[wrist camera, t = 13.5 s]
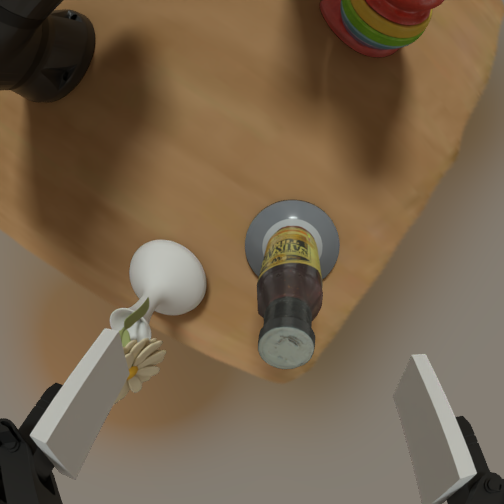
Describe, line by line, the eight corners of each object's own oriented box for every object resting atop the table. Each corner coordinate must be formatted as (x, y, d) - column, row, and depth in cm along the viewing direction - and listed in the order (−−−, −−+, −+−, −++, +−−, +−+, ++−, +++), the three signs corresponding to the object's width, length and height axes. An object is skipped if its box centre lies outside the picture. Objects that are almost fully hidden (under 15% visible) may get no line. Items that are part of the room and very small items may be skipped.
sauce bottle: (304, 215, 37) (322, 294, 19) (323, 258, 39) (349, 362, 21) (256, 235, 39) (229, 327, 21) (276, 277, 41) (267, 387, 22)
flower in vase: (174, 320, 46) (105, 451, 23) (121, 268, 44) (15, 375, 21) (234, 272, 42) (182, 421, 19) (175, 210, 40) (56, 310, 17)
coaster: (244, 283, 43) (243, 286, 42) (247, 196, 38) (246, 197, 37) (331, 290, 42) (332, 293, 41) (344, 204, 37) (345, 205, 36)
